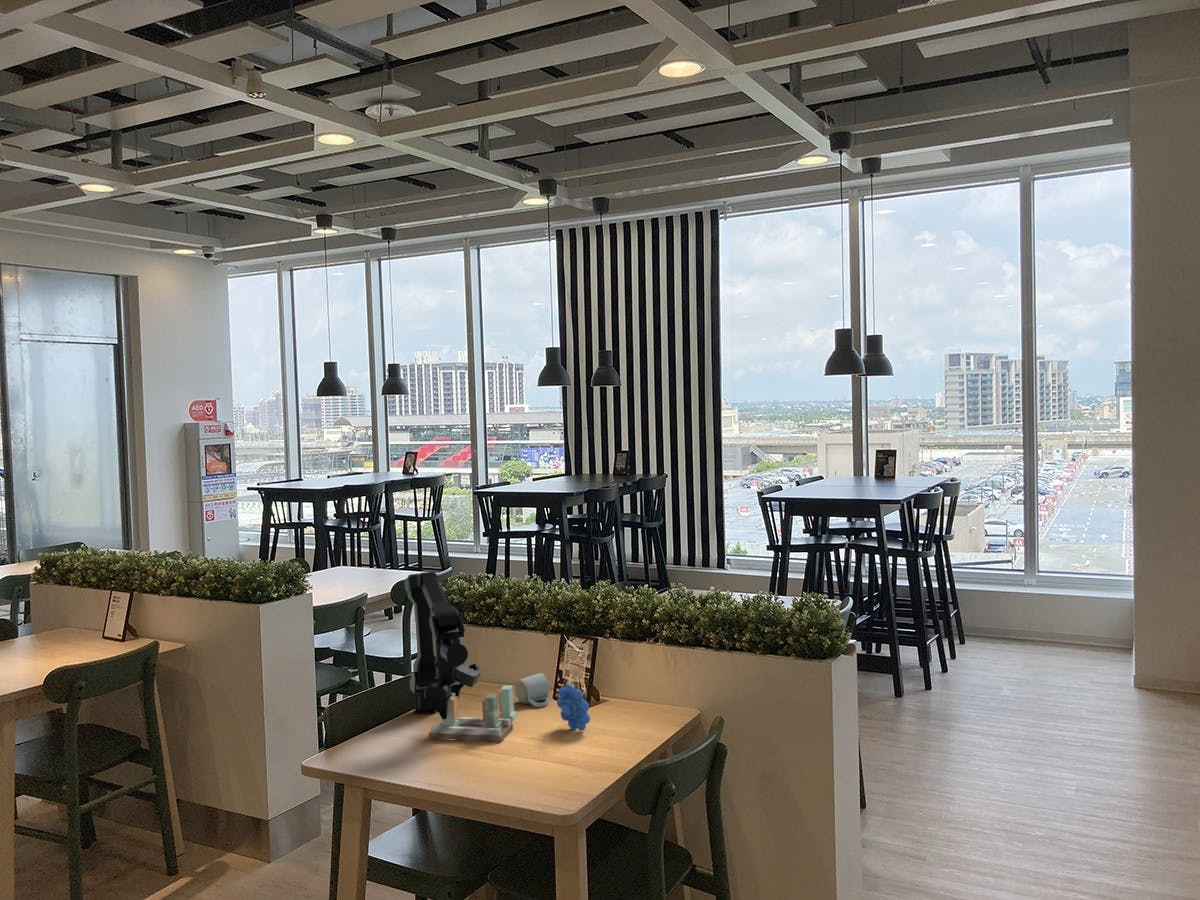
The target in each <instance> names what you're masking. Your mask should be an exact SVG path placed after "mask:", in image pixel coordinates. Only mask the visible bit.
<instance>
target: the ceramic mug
mask: <svg viewBox="0 0 1200 900" xmlns="http://www.w3.org/2000/svg"><path fill="white" fill-rule="evenodd" d="M514 690H515V691H514V692H515V697H516V698H517V699H518V701H519V702H520V703H521V704H525V705H527V704H530V705H532V706H533V707H536V708H543V706H544V707H546V706H548V704H549V701H550V694H551V693H550V692H551V691H550V684H549V681H548V679H547V677H546V675H544V673H542V672H541V673H537V674H534V675H530V676H527V677H524V678H520V679H519V680H517V681H516V682H515V688H514ZM541 701H542V702H541Z"/></svg>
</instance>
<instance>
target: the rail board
mask: <svg viewBox="0 0 1200 900" xmlns="http://www.w3.org/2000/svg"><path fill="white" fill-rule="evenodd" d="M481 703H482V704H481V708H482V717H468V716H467V717H464V716H459V717H458V718H457V719H456V720H460V726H459V727H450V726H440V724H441V723H442V722H443V719H442V718H441V722H440V723H439V724H437V725H431V727H430V732H429V733H428V740H434V739H455V740H454V741H458V740H468V741H467V742H482V741H483V742H486V741H488V743H502V742H503V741H504V740H505V739H506V738H507V737H508V735H510V734H511V732H512V731H513V730H514V724H513V723H511V722H510V719H499V715H500V714H499V697H498V693H488V694H487V695H486V696H485V697H484V698H483V700H481ZM505 737H506V738H505ZM504 738H505V739H504ZM483 742H482V743H483ZM486 743H487V742H486Z"/></svg>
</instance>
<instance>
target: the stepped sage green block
mask: <svg viewBox="0 0 1200 900" xmlns="http://www.w3.org/2000/svg"><path fill="white" fill-rule="evenodd" d="M451 694H453V695H452V697H451V698H450V699H449V700H448V710H447V719H443V722H442V721H441V722H442V723H441V722H440V723H441V724H440V723H439V724H440V726H450V727H459V726H460V720H456V719H457V718H458V717H460V715H459V700H458V696H455V693H451Z"/></svg>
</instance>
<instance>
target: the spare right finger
mask: <svg viewBox="0 0 1200 900" xmlns="http://www.w3.org/2000/svg"><path fill="white" fill-rule="evenodd" d="M497 694H498V713H500V714H499V719H510V721H513V722H514V721H515V720H516V719H517V718H518V711H516V710H515V708H514V706H515V703H514V701H515V700H514V686H513V685H512V684H511V685H508V684H507V685H503V686H502V687H501V688H500V690H498V693H497ZM516 717H517V718H516ZM514 719H515V720H514Z"/></svg>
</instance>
